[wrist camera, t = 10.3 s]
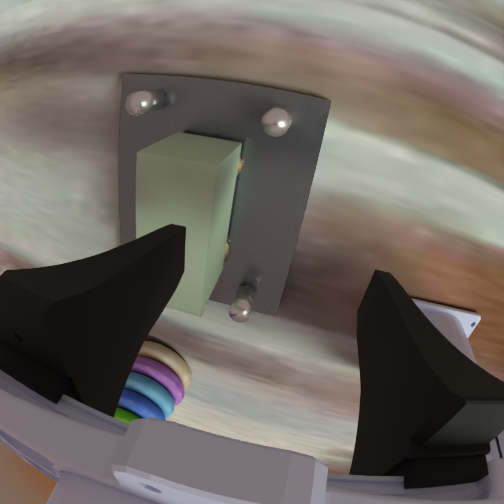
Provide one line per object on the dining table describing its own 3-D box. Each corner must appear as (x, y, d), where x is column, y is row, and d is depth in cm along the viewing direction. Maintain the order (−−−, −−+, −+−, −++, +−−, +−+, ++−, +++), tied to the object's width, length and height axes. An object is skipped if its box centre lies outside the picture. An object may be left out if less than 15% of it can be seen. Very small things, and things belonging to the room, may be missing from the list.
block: (222, 269, 23) (200, 316, 18) (169, 255, 23) (139, 298, 19) (241, 143, 18) (217, 165, 14) (177, 132, 18) (136, 152, 14)
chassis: (277, 307, 25) (271, 339, 23) (129, 268, 26) (109, 292, 23) (330, 100, 17) (333, 104, 14) (131, 73, 18) (100, 76, 15)
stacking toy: (122, 327, 31) (32, 477, 15) (194, 349, 30) (121, 525, 14) (132, 371, 35) (65, 500, 19) (194, 391, 34) (139, 535, 19)
